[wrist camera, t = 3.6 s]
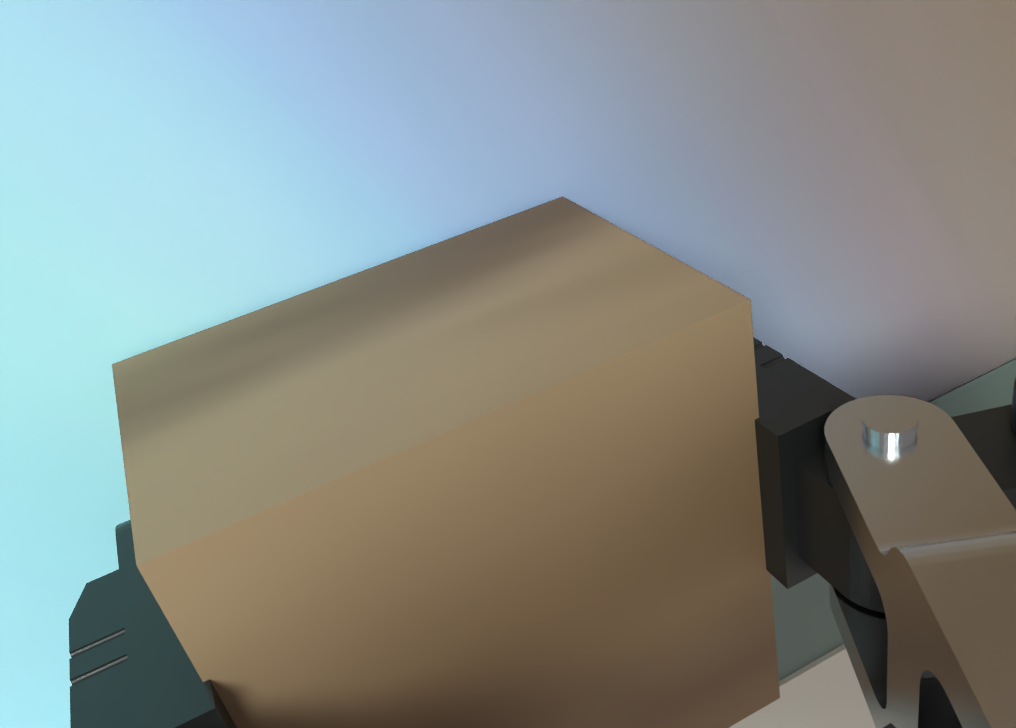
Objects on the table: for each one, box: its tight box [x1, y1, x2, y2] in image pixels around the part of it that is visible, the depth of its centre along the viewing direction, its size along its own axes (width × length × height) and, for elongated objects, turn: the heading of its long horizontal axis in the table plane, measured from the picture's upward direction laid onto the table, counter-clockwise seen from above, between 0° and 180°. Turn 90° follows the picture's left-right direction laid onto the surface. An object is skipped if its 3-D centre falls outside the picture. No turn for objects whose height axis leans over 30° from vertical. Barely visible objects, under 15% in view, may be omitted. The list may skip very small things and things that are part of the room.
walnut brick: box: [112, 197, 780, 728], centre depth 11 cm, size 6×6×4 cm
